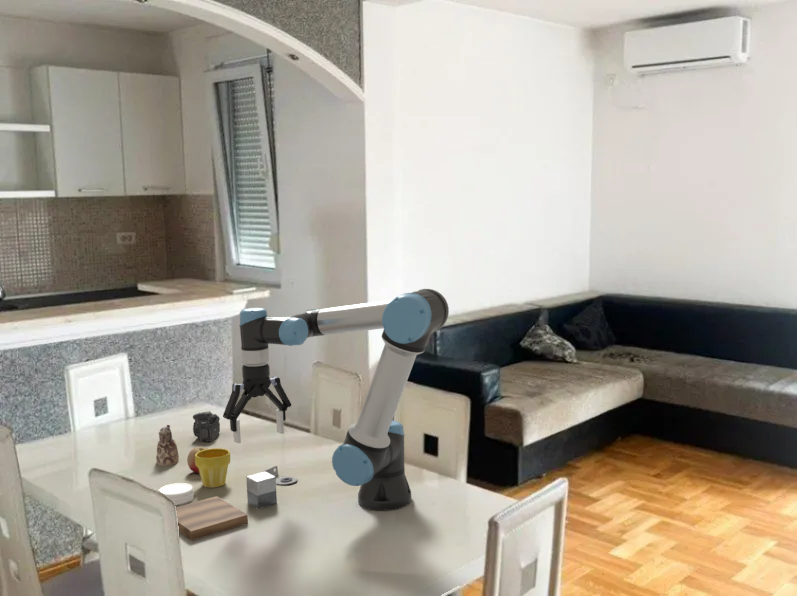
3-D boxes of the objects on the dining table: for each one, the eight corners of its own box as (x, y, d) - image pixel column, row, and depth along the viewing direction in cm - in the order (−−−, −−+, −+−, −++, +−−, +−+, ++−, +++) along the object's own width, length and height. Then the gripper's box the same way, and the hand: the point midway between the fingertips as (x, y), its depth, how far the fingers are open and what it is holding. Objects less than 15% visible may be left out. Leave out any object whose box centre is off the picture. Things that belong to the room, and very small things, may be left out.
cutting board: (247, 523, 215) (247, 514, 214) (191, 540, 205) (191, 531, 204) (217, 504, 229) (216, 496, 228) (163, 519, 219) (162, 510, 218)
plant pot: (217, 475, 253) (215, 445, 251) (238, 482, 246) (237, 451, 245) (189, 485, 245) (187, 454, 243) (211, 492, 238) (209, 460, 237)
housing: (276, 503, 228) (275, 476, 227) (258, 509, 225) (256, 481, 224) (266, 498, 233) (265, 471, 232) (247, 503, 229) (246, 476, 228)
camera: (192, 434, 298) (191, 408, 297) (219, 431, 301) (218, 405, 300) (194, 444, 286) (192, 417, 284) (223, 441, 288) (221, 414, 287)
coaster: (157, 496, 237) (156, 485, 236) (191, 491, 240) (191, 480, 240) (159, 508, 227) (158, 496, 227) (195, 503, 231) (195, 491, 230)
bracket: (287, 488, 241) (287, 477, 241) (262, 482, 247) (262, 471, 247) (301, 481, 247) (301, 470, 246) (277, 475, 252) (276, 465, 252)
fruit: (205, 477, 252) (204, 452, 251) (183, 474, 254) (182, 450, 253) (219, 468, 259) (217, 444, 258) (197, 466, 262) (196, 442, 261)
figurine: (152, 464, 265) (150, 429, 263) (163, 457, 272) (161, 423, 270) (172, 465, 263) (169, 430, 262) (182, 459, 270) (180, 424, 268)
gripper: (287, 355, 236) (290, 425, 238) (208, 368, 221) (212, 443, 223) (301, 359, 230) (304, 431, 232) (220, 372, 215) (224, 449, 217)
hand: (259, 437), depth 228 cm, fingers open, 13 cm apart
